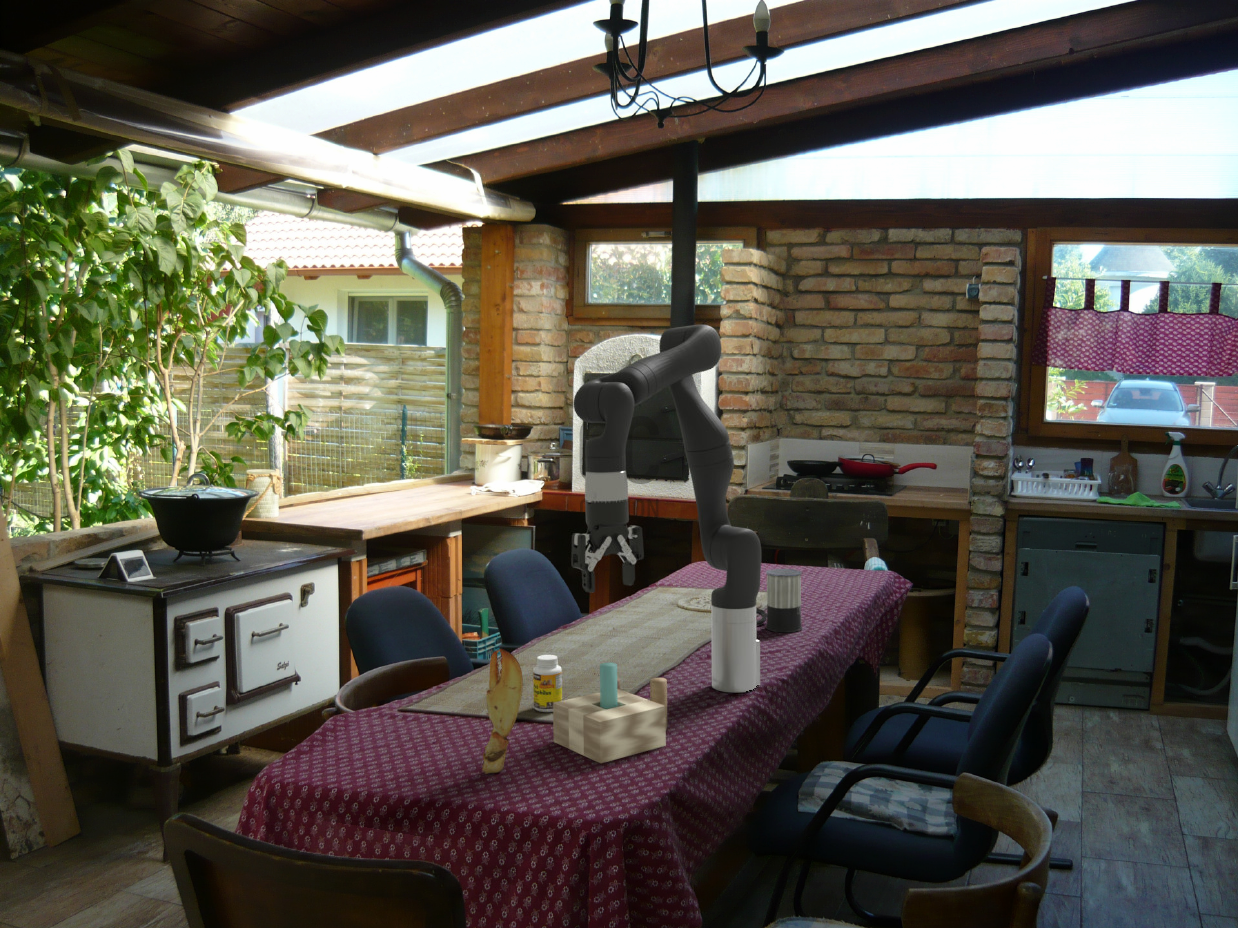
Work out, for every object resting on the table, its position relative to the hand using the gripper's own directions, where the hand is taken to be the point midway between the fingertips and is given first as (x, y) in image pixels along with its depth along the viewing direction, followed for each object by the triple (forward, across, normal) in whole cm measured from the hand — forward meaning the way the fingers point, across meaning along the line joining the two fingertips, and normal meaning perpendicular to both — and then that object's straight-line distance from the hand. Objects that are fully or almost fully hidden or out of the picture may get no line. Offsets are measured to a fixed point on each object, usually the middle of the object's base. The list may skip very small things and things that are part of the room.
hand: (609, 588), depth 189 cm
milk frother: (+29, -84, -43) cm, 99 cm away
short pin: (+27, -10, -12) cm, 31 cm away
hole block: (+27, +3, +2) cm, 27 cm away
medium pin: (+27, -9, +2) cm, 29 cm away
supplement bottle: (+27, -1, -22) cm, 35 cm away
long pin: (+27, +3, +2) cm, 27 cm away
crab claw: (+27, +25, +2) cm, 36 cm away
